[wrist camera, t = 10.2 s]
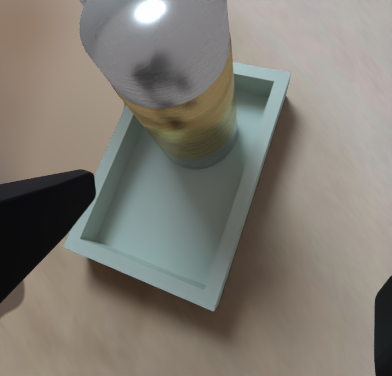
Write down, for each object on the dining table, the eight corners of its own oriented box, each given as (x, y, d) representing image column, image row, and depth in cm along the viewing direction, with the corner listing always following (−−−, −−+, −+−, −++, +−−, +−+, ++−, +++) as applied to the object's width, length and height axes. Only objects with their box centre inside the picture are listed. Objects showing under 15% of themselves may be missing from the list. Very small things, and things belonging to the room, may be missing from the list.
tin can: (245, 160, 22) (242, 51, 10) (165, 177, 23) (81, 93, 11) (229, 89, 24) (212, -70, 12) (156, 107, 24) (76, -25, 13)
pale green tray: (218, 304, 20) (213, 311, 17) (86, 248, 23) (63, 247, 20) (285, 95, 23) (291, 72, 20) (161, 70, 26) (151, 47, 24)
